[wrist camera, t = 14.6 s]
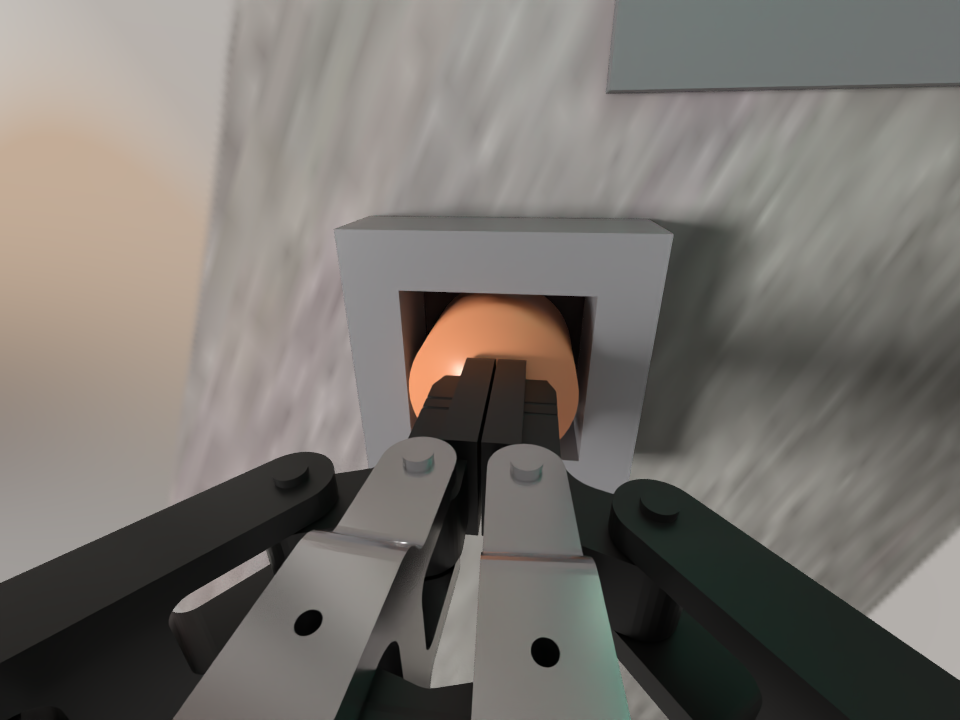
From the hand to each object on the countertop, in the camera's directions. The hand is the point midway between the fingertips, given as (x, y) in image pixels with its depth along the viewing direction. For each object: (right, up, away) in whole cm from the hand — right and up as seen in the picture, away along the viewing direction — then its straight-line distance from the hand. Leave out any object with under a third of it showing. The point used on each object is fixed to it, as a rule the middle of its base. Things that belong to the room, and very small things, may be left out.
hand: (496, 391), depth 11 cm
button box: (0, +1, +3) cm, 3 cm away
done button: (0, +1, +3) cm, 3 cm away
